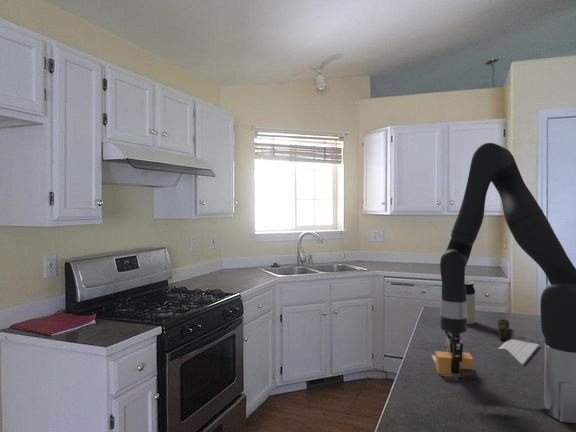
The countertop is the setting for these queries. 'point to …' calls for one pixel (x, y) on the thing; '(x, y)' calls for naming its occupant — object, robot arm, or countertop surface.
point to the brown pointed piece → (502, 328)
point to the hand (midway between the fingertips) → (453, 369)
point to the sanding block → (445, 362)
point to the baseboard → (520, 349)
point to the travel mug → (470, 302)
